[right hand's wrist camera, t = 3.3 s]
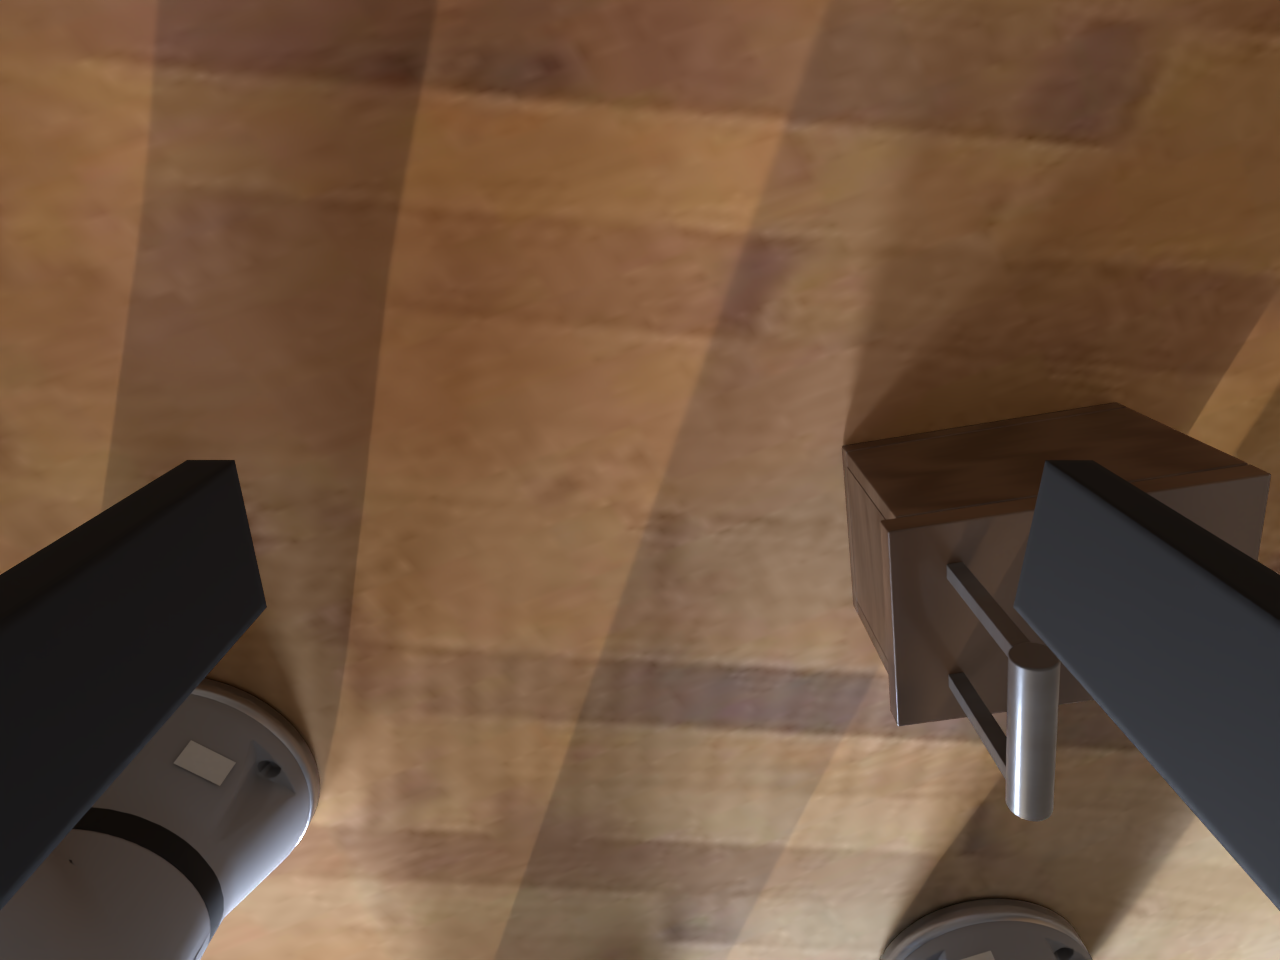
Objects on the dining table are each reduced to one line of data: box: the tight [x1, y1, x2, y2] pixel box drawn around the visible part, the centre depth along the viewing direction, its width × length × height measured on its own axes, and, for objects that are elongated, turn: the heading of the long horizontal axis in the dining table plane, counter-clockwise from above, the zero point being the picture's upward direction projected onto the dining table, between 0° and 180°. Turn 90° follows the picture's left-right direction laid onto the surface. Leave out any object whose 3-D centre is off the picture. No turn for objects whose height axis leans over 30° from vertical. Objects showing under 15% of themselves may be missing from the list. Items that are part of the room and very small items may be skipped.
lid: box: [880, 465, 1271, 821], centre depth 29 cm, size 15×10×9 cm
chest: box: [842, 403, 1248, 674], centre depth 37 cm, size 14×10×9 cm
